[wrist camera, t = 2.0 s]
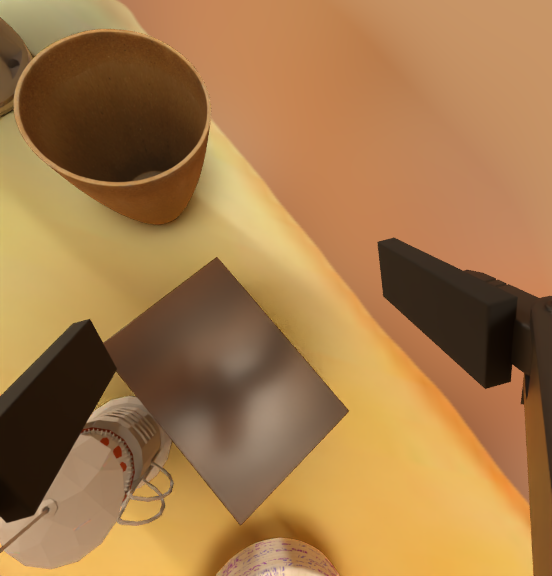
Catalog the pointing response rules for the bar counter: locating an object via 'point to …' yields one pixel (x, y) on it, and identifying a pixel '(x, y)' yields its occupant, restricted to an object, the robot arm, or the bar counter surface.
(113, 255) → the bar counter surface
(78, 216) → the bar counter surface
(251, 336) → the shelf
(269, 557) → the paper bowls
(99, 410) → the french press
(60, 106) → the plant pot
